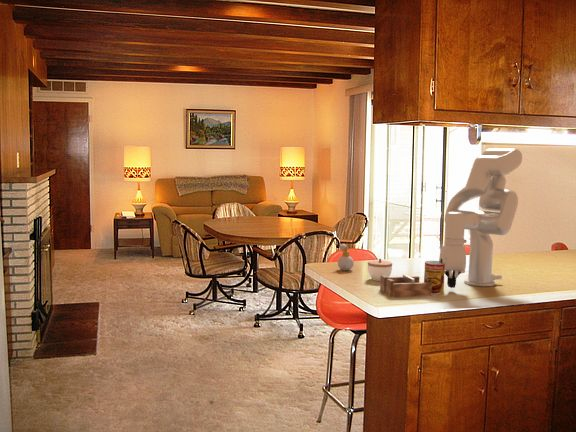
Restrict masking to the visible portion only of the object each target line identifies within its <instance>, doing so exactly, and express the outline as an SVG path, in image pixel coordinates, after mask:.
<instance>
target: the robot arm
mask: <svg viewBox="0 0 576 432" xmlns="http://www.w3.org/2000/svg"><path fill="white" fill-rule="evenodd" d="M522 162H523V153H522V151H521V150H520V149H518V148H512V147H511V148H503V147H501V148H500V147H499V148H498V147H493V148H486V149H485V150H483V152H482V154H481V155H479V156H478V157H476V158H475V159H474V161H473V164H472V167H471V169H470V173H469V176H468V178H467V181H466V184H465V186H464V187H463V188H462V189H460V190H459V191H458V192H457V193H455V194H454V195H453V197H452V198H451V199H450V201H449V202H448V204H447V207H446V211H445V214H444V224H445V225H444V240H443V241H444V242H443V243H444V244H442V246H441V248H440V253H439V258H438V261H439V262H440V263H441V262H442V263H443V264H444V263H445V271H444V276H446V278H447V280H446V281H447V287H448V288H451V289H452V288H454V289H455V288H456V285H457V278H458V277H459V275H461V274H464V273H466V267H467V254H466V252H467V251H466V247H465V244H466V243H467V242H468V241H467V239H465V230H468V231H469V236H470V239H469V240H470V241H469V256H468V257H469V259H468V260H469V261H468V274H467V275H468V276H467V278H465V279H464V281H463V282H464V283H465V284H466V285H469V286H476V287H493V286H495V284H496V282H495V280H499V281H500V280H502V279H503V276H502V275H501V274H497V275H496V274H494V273H493V272H492V271H493V254H494V253H493V252H494V242H493V239H492V237H491V235H494V236H506V235H508V234H509V233H510V230H511V228H512V225H513V222H514V218H515V215H516V212H517V209H518V205H519V196H518V195H517V192H515V191H514V190H511V189H505V187H506V184H507V180H506V177H505V176H507V175H509V174H510V173H512V172H513V171H515V170H516V169H518V168H519V167H520V166H521V164H522ZM476 198H479V201H478V203H479V206H480V208H481V209H482V210H477V211H468V210H460V208H461V207H462V205H464V204H465V203H467V202H469V201H471V200H473V199H476Z"/></svg>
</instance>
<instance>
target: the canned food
mask: <svg viewBox="0 0 576 432" xmlns="http://www.w3.org/2000/svg"><path fill="white" fill-rule="evenodd" d="M444 271H446V270H445V263H444V264H443V263H442V262H441V263H440V262H439V260H426V261H425V262H424V271H423V273H424V276H423V277H424V279H423V283H427V282H431V283H432V295H433V294H434V295H436V294H437V295H441V294H443V293H444V289H445V288H444V287H445V274H444Z"/></svg>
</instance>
